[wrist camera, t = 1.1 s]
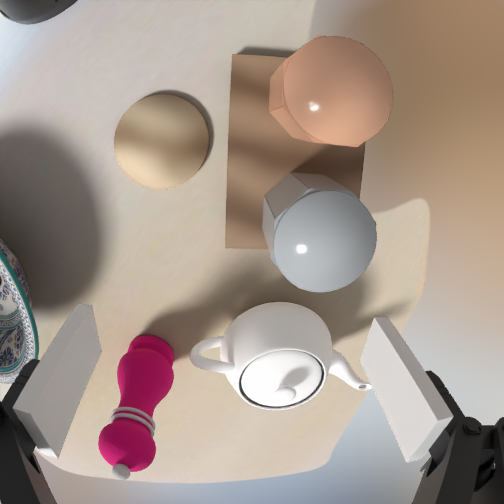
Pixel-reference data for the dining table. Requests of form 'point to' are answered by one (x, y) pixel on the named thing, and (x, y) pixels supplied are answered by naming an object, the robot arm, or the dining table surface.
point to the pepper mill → (137, 405)
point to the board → (270, 152)
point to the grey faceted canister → (317, 232)
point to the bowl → (15, 318)
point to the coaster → (161, 141)
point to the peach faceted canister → (331, 92)
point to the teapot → (277, 356)
